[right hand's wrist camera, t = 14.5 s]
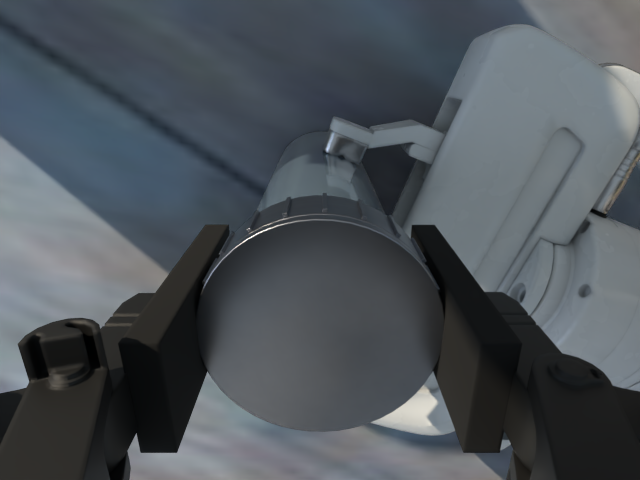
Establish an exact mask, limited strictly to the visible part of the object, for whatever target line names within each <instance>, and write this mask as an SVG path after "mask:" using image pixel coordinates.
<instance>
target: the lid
mask: <svg viewBox="0 0 640 480" xmlns="http://www.w3.org/2000/svg"><path fill="white" fill-rule="evenodd" d="M219 255H220V256H219V258H216V259H215V260H214V262H213V264H212V266H211V267H210V269H209V271H208V273H207V275H206V276H205V278H204V280H203V282H202V284H203V285H204V286H203V289H202V292H201V294H200V297H199V300H198V305H197V309H196V326H197V334H198V342H199V349H200V356H201V358H202V360H203V363H204V365H205V367H206V369H207V371H208V373H209V374H210V376H211V378H212V379H213V380H214V382H215V383H216V384H217V386H218V387H219V388H220V389H221V390H222V391H223V392H224V393H225V394H226V395H227V396H228V397H229V398H230V399H231V400H232V401H233V402H235V403H236V404H237V405H238V406H240V407H241V408H242V409H244V410H246V411H247V412H249V413H251V414H252V415H254V416H256V417H258V418H260V419H263V420H265V421H267V422H270V423H273V424H276V425H279V426H282V427H286V428H291V429H295V430H303V431H320V432H325V431H338V430H344V429H350V428H355V427H358V426H361V425H365V424H368V423H371V422H373V421H375V420H378V419H380V418H382V417H384V416H386V415H388V414H390V413H392V412H393V411H395V410H396V409H398V408H399V407H401V406H402V405H403V404H405V403H406V402H407V401H408V400H409V399H411V398H412V397H413V396H414V395H415V394H416V393H417V392H418V391H419V390H420V388H421V387H422V386H423V385H424V384H425V382H426V381H427V379H428V378H429V376H430V375H431V373H432V372H433V370H434V368H435V366H436V364H437V361H438V359H439V356H440V353H441V346H442V338H443V330H444V321H445V315H444V309H443V303H442V300H441V297H440V294H439V292H441V291H440V288H439V286H438V284H437V283H436V281H435V279H434V277H433V275H432V273H431V272H430V270H429V268H428V266H427V265H425V262H426V259H425V257H424V255H423V254H422V252H421V250H420V248H419V246H418V245H417V243H416V241H415V239H414V238H411V239H410V238H409V236H408V235H407V234H406V233H405V232H404V231H403V230H402V228H401V227H400V226H399V225H398V224H397V223H395V221H394V219H393V217H392V216H391V215H390V214H389V215H388V216H387V215H385V214H383V213H382V212H380V211H378V210H377V209H375V208H373V207H371V206H368V205H366V204H364V203H363V202H362V200H360V199H358V200H357V201H355V200H351V199H348V198H343V197H337V196H327V193H323V194H322V195H313V196H303V197H297V198H293V199H291V196H290V197H287V199H286V200H285V201H282V202H279V203H277V204H274V205H271V206H269V207H268V208H266V209H264V210H262V211H260V212H259V210H257V211H255V212H254V215H253V217H251V218H250V219H248V220H247V221H246V222H245V223H244V224H243V225H242V226H241V227H240V228H239V229H238V230H237V231H236V232H235V233H234V232H233V231H232V232H231V233H230V235H229V237H228V238H227V240H226V242H225V244H224V246H223V247H222V249H221V251H220V253H219Z"/></svg>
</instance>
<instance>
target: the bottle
mask: <svg viewBox="0 0 640 480" xmlns="http://www.w3.org/2000/svg"><path fill="white" fill-rule="evenodd" d="M326 135H327V132H324V131H317V132H310V133H307V134H304V135H302V136H300V137H298V138H296V139H295V140H294V141H292V142H291V143H290V144H289V145H288V146H287V148H286V149H285V150H284V152H283V154H282V155H281V158H280V160H279V162H278V164H277V166H276V169H275V171H274V173H273V175H272V177H271V180H270V182H269V184H268V186H267V188H266V191H265V193H264V195H263V197H262V199H261V202H260V204H259V206H258V208H257V210H259V212H260V211H262V210H264V209H266V208H268V207H269V206H271V205H274V204H277V203H279V202H282V201H285V200H286V199H287V197H290V196H291V199H293V198H297V197H303V196H313V195H322V194H323V193H327V196H337V197H343V198H348V199H351V200H355V201H357V200H358V199H360V200H362V202H363V203H364V204H366V205H368V206H371V207H373V208H375V209H377V210H378V211H380V212H382V213H383V214H385V212H384V210H383V208H382V205H381V203H380V201H379V199H378V197H377V194H376V192H375V190H374V188H373V185H372V183H371V181H370V179H369V177H368V174H367V172H366V170H365V168H364V166H363V163H362V161H361V163H360V165H358V164H355V163H353V162H350V161H348V160H346V159H345V158H344V156H343V155H340V156H335V155H331V154H329V153H327V152H325V151H324V150H323V144H324V141H325V138H326ZM257 210H256V211H257ZM385 215H386V214H385Z"/></svg>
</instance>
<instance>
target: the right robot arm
mask: <svg viewBox="0 0 640 480" xmlns="http://www.w3.org/2000/svg"><path fill="white" fill-rule="evenodd" d="M229 235H230V234H229V225H205V226H204V228H203V229H202V230H201V232H200V233H199V234H198V236H197V237H196V238H195V240H194V241H193V243H192V244H191V245H190V247H189V248H188V249H187V251H186V252H185V253H184V255H183V256H182V257H181V259H180V260H179V262H178V263H177V264H176V266H175V267H174V268H173V270H172V271H171V272H170V274H169V275H168V276H167V278H166V279H165V280H164V282H163V283H162V285H161V286H160V287H159V289H158V290H157V291H156V293H138V294H137V295H135V296H133V297H132V298H130V299H128V300H127V301H125V302H123V303H122V304H121V305H120V307H119V308H118V309H117V310H116V311H115V313H114V314H113V317H110V318H109V320H108V321H107V322H106V323H105V326H103V327H102V328H101V329H100V327H99V324H98V323H96V322H95V321H93V320H90V319H85V318H71V319H64V320H60V321H56V322H52V323H49V324H47V325H44V326H42V327H39V328H37V329H35V330H34V331H32V332H31V333H29V334H27V335H26V336H25V337H24V338H23V339H22V340H21V341H20V342H19V343H18V346H19V350H20V353H21V356H22V359H23V362H24V366H25V369H26V372H27V375H28V378H29V384H28V386H27V388H24V389H20V390H15V391H10V392H5V393H0V480H129V478H130V469H131V468H130V461H129V456H128V452H127V450H128V448H129V446H130V444H131V442H132V440H133V438H134V436H135V435H136V433H137V437H138V442H139V447H140V451H141V453H177V451H178V448H179V446H180V443H181V440H182V438H183V435H184V432H185V430H186V427H187V424H188V422H189V419H190V416H191V414H192V411H193V408H194V406H195V403H196V400H197V398H198V395H199V392H200V389H201V387H202V384H203V381H204V379H205V376H206V373H207V369H206V367H205V365H204V363H203V360H202V358H201V356H200V349H199V342H198V334H197V326H196V309H197V305H198V300H199V297H200V294H201V292H202V289H203V286H204V285H203V284H202V282H203V280H204V278H205V276H206V275H207V273H208V271H209V269H210V267H211V266H212V264H213V262H214V260H215V259H216V258H219V256H220V255H219V253H220V251H221V249H222V247H223V246H224V244H225V242H226V240H227V238H228V237H229ZM411 238H414V239H415V241H416V243H417V245H418V246H419V248H420V250H421V252H422V254H423V255H424V257H425V259H426V262H425V265H427V266H428V268H429V270H430V272H431V273H432V275H433V277H434V279H435V281H436V283H437V284H438V286H439V288H440V291H441V292H439V294H440V297H441V300H442V303H443V309H444V315H445V321H444V330H443V338H442V346H441V353H440V356H439V359H438V361H437V364H436V366H435V368H434V370H433V372H434V375H435V378H436V380H437V383H438V386H439V388H440V391H441V394H442V396H443V399H444V402H445V404H446V407H447V410H448V412H449V415H450V418H451V420H452V423H453V426H454V428H455V431H456V434H457V436H458V439H459V442H460V445H461V447H462V450H463V453H500V449H501V444H502V439H503V434H504V431H505V433H506V435H507V437H508V439H509V441H510V443H511V445H512V447H513V452H512V456H511V461H510V465H509V470H508V474H507V479H506V480H640V391H635V390H630V389H625V388H620V387H616V386H613V385H612V383H611V381H610V380H609V379H608V377H607V376H606V375H605V373H604V372H603V371H601V370H600V369H599V368H597V367H596V366H594V365H593V364H591V363H589V362H587V361H585V360H583V359H581V358H578V357H575V356H571V355H567V354H563V353H562V352H561V351H560V350H559V349H558V348H557V347H556V345H555V344H554V343H553V342H552V341H551V340H550V338H549V337H548V336H547V335H546V334H545V332H544V331H543V330H542V329H541V328H540V327H539V325H536V322H535V321H534V320H533V318H532V317H531V316H530V315H528V313H527V311H526V310H525V309H524V308H523V307H522V306H521V304H520V303H519V302H518V301H516V300H515V299H513V298H511V297H510V296H508V295H506V294H505V293H503V292H484V291H483V289H482V288H481V287H480V285H479V284H478V283H477V281H476V280H475V278H474V277H473V276H472V274H471V273H470V272H469V270H468V269H467V268H466V266H465V265H464V264H463V262H462V261H461V260H460V258H459V257H458V255H457V254H456V253H455V251H454V250H453V249H452V247H451V246H450V245H449V243H448V242H447V241H446V239H445V238H444V237H443V235H442V234H441V232H440V231H439V230H438V228H437V227H436V226H435V225H412V228H411Z"/></svg>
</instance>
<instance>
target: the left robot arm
mask: <svg viewBox="0 0 640 480" xmlns="http://www.w3.org/2000/svg"><path fill="white" fill-rule="evenodd" d="M396 144H400V146H401V148H402V149H403V150H404V151H405V152H406V153H407V154H408V155H409V156H411V157H413V158H416V159H417V160H416V162H415V164H414V167H413V169H412V171H411V173H410V175H409V177H408V180H407V182H406V184H405V186H404V188H403V190H402V193H401V195H400V197H399V199H398V201H397V203H396V206H395V208H394V210H393V212H392V214H391V216H392V217H393V219H394V221H395V223H397V224H398V225H399V226H400V227H401V228H402V230H403V231H404V232H405V233H406V234H407V235H408V236H409V238H410V239H411V228H412V225H435V226H436V227H437V228H438V230H439V231H440V232H441V234H442V235H443V237H444V238H445V239H446V241H447V242H448V243H449V245H450V246H451V247H452V249H453V250H454V251H455V253H456V254H457V255H458V257H459V258H460V260H461V261H462V262H463V264H464V265H465V266H466V268H467V269H468V270H469V272H470V273H471V274H472V276H473V277H474V278H475V280H476V281H477V283H478V284H479V285H480V287H481V288H482V289H483V291H484V292H503V293H505V294H506V295H508V296H510V297H511V298H513V299H515V300H516V301H518V302H519V303H520V304H521V306H522V307H523V308H524V309H525V310H526V311H527V313H528V315H530V316H531V317H532V318H533V320H534V321H535V322H536V325H539V327H540V328H541V329H542V330H543V331H544V332H545V334H546V335H547V336H548V337H549V338H550V340H551V341H552V342H553V343H554V344H555V345H556V347H557V348H558V349H559V350H560V351H561V352H562V353H563V354H567V355H571V356H575V357H578V358H581V359H583V360H585V361H587V362H589V363H591V364H593V365H594V366H596V367H597V368H599V369H600V370H601V371H603V372H604V373H605V375H606V376H607V377H608V379H609V380H610V381H611V383H612V385H613V386H616V387H620V388H625V389H630V390H635V391H640V230H638V229H636V228H633V227H631V226H628V225H626V224H623V223H621V222H618V221H615V220H613V219H610V218H608V217H607V216H606V214H607V213H608V211H609V210H610V208H611V207H612V205H613V204H614V202H615V201H616V199H617V198H618V196H619V194H620V193H621V191H622V190H623V188H624V187H625V185H626V183H627V181H628V180H627V179H629V177H630V173H632V171H633V168H635V166H636V164H637V162H638V161H639V160H640V73H638V72H636V71H634V70H632V69H629V68H627V67H625V66H623V65H621V64H616V63H603V64H597V63H596V62H594V61H593V60H591V59H590V58H588V57H587V56H585V55H584V54H582V53H581V52H579V51H578V50H576V49H574V48H573V47H571V46H569V45H568V44H566V43H564V42H563V41H561V40H559V39H558V38H556V37H554V36H552V35H550V34H548V33H546V32H544V31H542V30H540V29H538V28H536V27H533V26H531V25H526V24H512V25H507V26H503V27H500V28H497V29H494V30H492V31H489V32H487V33H485V34H483V35H480V36H478V37H477V38H475V39H474V40H473V41H472V42H471V44H470V46H469V48H468V50H467V52H466V54H465V56H464V58H463V60H462V63H461V65H460V67H459V69H458V71H457V73H456V76H455V78H454V80H453V82H452V84H451V86H450V89H449V91H448V93H447V95H446V97H445V99H444V102H443V104H442V106H441V108H440V110H439V112H438V115H437V117H436V119H435V121H434V123H433V125H432V128H431V127H429V126H426V125H424V124H421V123H419V122H416V121H413V120H411V119H410V120H404V121H399V122H393V123H387V124H381V125H376V126H370V128H369V129H368V128H365V127H362V126H360V125H357V124H355V123H352V122H350V121H347V120H345V119H342V118H339V117H335V116H333V119H332V122H331V124H330V127H329V130H328V132H327V135H326V138H325V141H324V144H323V150H324V151H325V152H327V153H329V154H331V155H335V156H340V155H343V156H344V158H345V159H346V160H348V161H350V162H353V163H355V164H358V165H360V163H361V161H362V159H363V157H364V154H365V152H366V150H367V148H368V149H370V148H376V147H383V146H390V145H396ZM371 423H373V424H376V425H380V426H384V427H388V428H392V429H396V430H400V431H405V432H409V433H414V434H420V435H430V436H435V435H444V434H448V433H451V432H454V431H455V428H454V426H453V423H452V420H451V418H450V415H449V412H448V410H447V407H446V404H445V402H444V399H443V396H442V394H441V391H440V388H439V386H438V383H437V380H436V378H435V375H434V372H432V373H431V375H430V376H429V378H428V379H427V381H426V382H425V384H424V385H423V386H422V387H421V388H420V390H419V391H418V392H417V393H416V394H415V395H414V396H413V397H412V398H411V399H409V400H408V401H407V402H406V403H405V404H403V405H402V406H401V407H399V408H398V409H396V410H395V411H393V412H392V413H390V414H388V415H386V416H384V417H382V418H380V419H378V420H375V421H373V422H371ZM509 445H511V443H510V441H509V439H508V437H507V435H506V433H505V431H504V434H503V439H502V444H501V449H500V450H503V449H505V448H506V447H508V446H509Z"/></svg>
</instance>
